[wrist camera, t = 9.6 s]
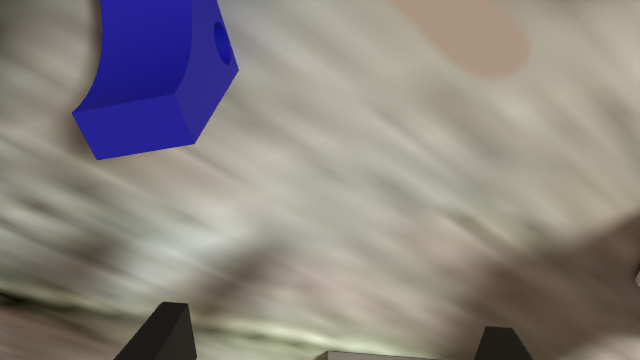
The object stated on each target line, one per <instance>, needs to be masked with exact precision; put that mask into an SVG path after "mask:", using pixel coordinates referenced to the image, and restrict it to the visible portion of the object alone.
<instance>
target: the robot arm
mask: <svg viewBox="0 0 640 360" xmlns="http://www.w3.org/2000/svg"><path fill="white" fill-rule="evenodd" d="M636 283H637V284H638V286H639V287H640V271H639V273H638V275H637V277H636ZM196 358H197V354H196V348H195V342H194V336H193V331H192V325H191V319H190V313H189V307H188V304H186V303H173V302H162V303H161V304H160V305H159V306H158V307H157V308H156V310H155V311H154V312H153V313H152V315H151V316H150V317H149V318H148V319H147V321H146V322H145V323H144V324H143V326H142V327H141V328H140V329H139V330H138V332H137V333H136V334H135V335H134V336H133V338H132V339H131V340H130V341H129V342H128V343H127V345H126V346H125V347H124V348H123V349H122V350H121V352H120V353H119V354H118V355H117V356H116V357H115V358H114V359H113V360H196ZM474 360H534V359H533V358H532V356H531V355H530V354H529V352H528V351H527V349H526V348H525V346H524V345H523V343H522V342H521V340H520V339H519V337H518V336H517V334H516V333H515V331H514V330H513V329H512V328H502V327H489V326H486V327H485V330H484V333H483V336H482V339H481V342H480V344H479V347H478V350H477V353H476V356H475V359H474Z"/></svg>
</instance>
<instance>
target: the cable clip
mask: <svg viewBox="0 0 640 360" xmlns="http://www.w3.org/2000/svg"><path fill="white" fill-rule="evenodd" d="M100 2H101V11H102V25H103V38H102V51H101V58H100V63H99V67H98V71H97V75H96V77H95V80H94V82H93V85H92V87H91V89H90V91H89V92H88V94H87V96H86V97H85V99H84V100H83V101H82V103H81V104H80V105H79V106H78V107H77V108H76V109H75V110H74V111H73V112H72V115H73V117H74V119H75V120H76V122H77V124H78V126H79V128H80V130H81V132H82V133H83V135H84V137H85V139H86V141H87V143H88V144H89V146H90V148H91V150H92V152H93V154H94V156H95V157H96V159H97V160H102V159H108V158H114V157H120V156H126V155H131V154H137V153H143V152H149V151H155V150H161V149H167V148H173V147H179V146H185V145H191V144H195V142H196V141H197V139H198V137H199V136H200V134H201V132H202V131H203V129H204V127H205V126H206V124H207V122H208V121H209V119H210V117H211V116H212V114H213V112H214V111H215V109H216V107H217V106H218V104H219V102H220V101H221V99H222V97H223V96H224V94H225V92H226V91H227V89H228V87H229V86H230V84H231V82H232V81H233V79H234V77H235V76H236V74H237V72H238V71H239V69H238V66H237V63H236V60H235V57H234V53H233V50H232V47H231V44H230V41H229V38H228V35H227V31H226V28H225V25H224V22H223V19H222V16H221V13H220V9H219V6H218V3H217V0H100Z"/></svg>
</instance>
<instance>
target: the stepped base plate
mask: <svg viewBox="0 0 640 360" xmlns="http://www.w3.org/2000/svg"><path fill="white" fill-rule="evenodd" d="M327 360H433V359H420V358H408V357H395V356H382V355H370V354H357V353H344V352H331V351H328V359H327Z"/></svg>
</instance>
